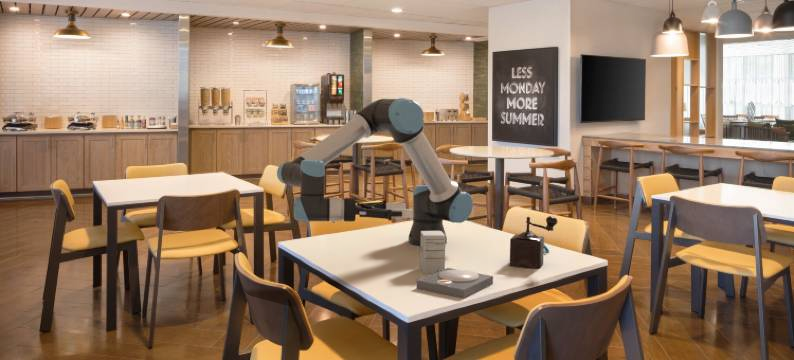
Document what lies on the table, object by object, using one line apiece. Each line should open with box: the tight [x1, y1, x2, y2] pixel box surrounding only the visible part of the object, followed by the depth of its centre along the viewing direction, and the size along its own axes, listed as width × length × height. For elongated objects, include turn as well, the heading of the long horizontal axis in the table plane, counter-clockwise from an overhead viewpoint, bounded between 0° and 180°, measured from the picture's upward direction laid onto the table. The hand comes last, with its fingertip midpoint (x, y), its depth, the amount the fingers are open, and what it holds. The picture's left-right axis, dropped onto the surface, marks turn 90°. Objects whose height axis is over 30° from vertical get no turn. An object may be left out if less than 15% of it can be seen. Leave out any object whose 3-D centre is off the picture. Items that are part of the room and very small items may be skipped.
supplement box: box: [419, 231, 446, 274], centre depth 205 cm, size 7×7×13 cm
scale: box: [416, 267, 494, 299], centre depth 188 cm, size 16×18×3 cm
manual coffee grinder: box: [508, 215, 558, 270], centre depth 213 cm, size 16×11×18 cm
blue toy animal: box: [529, 230, 550, 253], centre depth 235 cm, size 11×6×10 cm
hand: (408, 210), depth 202 cm, fingers open, 13 cm apart
